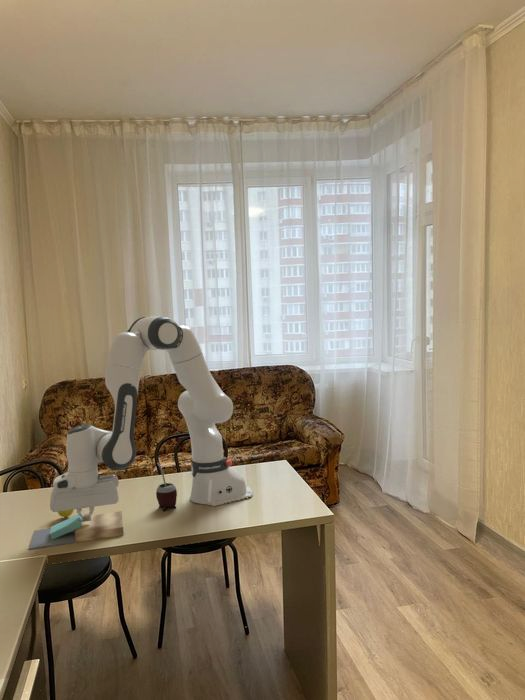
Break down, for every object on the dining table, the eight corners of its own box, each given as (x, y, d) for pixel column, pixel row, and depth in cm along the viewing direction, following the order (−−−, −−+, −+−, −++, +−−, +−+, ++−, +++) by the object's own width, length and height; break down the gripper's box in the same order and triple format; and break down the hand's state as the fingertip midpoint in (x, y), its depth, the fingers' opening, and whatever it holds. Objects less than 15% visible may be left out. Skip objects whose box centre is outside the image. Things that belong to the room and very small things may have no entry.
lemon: (57, 516, 183) (55, 493, 182) (74, 513, 185) (73, 491, 184) (57, 522, 178) (55, 498, 177) (75, 519, 180) (73, 496, 179)
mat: (77, 525, 175) (77, 524, 175) (75, 542, 161) (75, 541, 161) (34, 531, 171) (34, 530, 171) (28, 549, 158) (28, 548, 158)
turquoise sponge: (82, 519, 171) (79, 513, 171) (81, 526, 166) (78, 520, 165) (54, 532, 169) (51, 526, 169) (52, 539, 163) (49, 533, 163)
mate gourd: (173, 512, 182) (170, 468, 181) (151, 511, 184) (148, 468, 183) (181, 504, 190) (178, 462, 188) (160, 503, 191) (157, 462, 190)
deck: (122, 518, 179) (121, 511, 178) (123, 534, 165) (123, 527, 165) (77, 525, 175) (77, 517, 175) (75, 542, 161) (74, 534, 161)
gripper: (117, 470, 173) (120, 512, 174) (49, 478, 168) (52, 522, 169) (118, 476, 167) (120, 519, 168) (47, 484, 162) (51, 529, 163)
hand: (86, 520), depth 169 cm, fingers closed
